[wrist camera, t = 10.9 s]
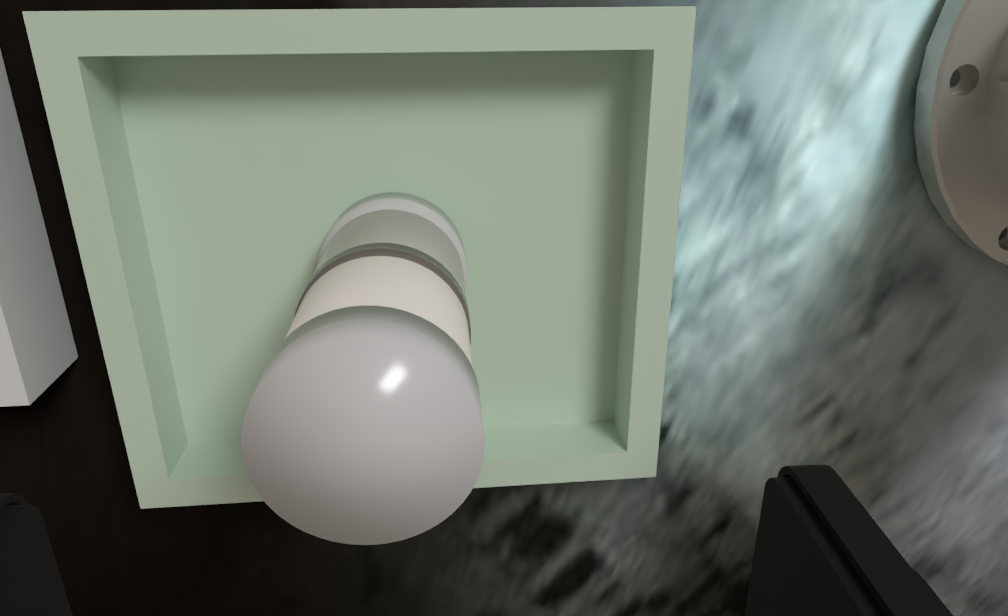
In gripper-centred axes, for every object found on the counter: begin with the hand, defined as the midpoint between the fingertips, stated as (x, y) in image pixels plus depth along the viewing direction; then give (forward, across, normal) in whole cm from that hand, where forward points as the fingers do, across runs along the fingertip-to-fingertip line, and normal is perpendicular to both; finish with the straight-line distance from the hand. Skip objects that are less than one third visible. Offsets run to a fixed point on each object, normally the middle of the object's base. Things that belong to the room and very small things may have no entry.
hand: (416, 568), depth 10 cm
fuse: (+13, +1, 0) cm, 13 cm away
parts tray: (+14, +2, 0) cm, 14 cm away
